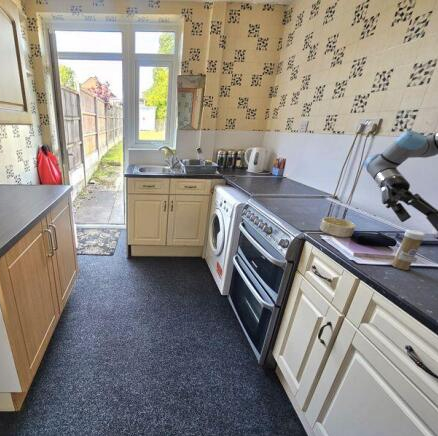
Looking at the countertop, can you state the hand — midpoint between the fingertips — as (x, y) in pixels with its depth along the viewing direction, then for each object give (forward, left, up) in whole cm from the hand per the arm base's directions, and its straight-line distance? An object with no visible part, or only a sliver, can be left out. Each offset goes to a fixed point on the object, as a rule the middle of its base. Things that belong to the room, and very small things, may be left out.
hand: (424, 224), depth 81 cm
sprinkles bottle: (+3, +4, -16) cm, 16 cm away
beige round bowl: (+18, -21, -15) cm, 32 cm away
